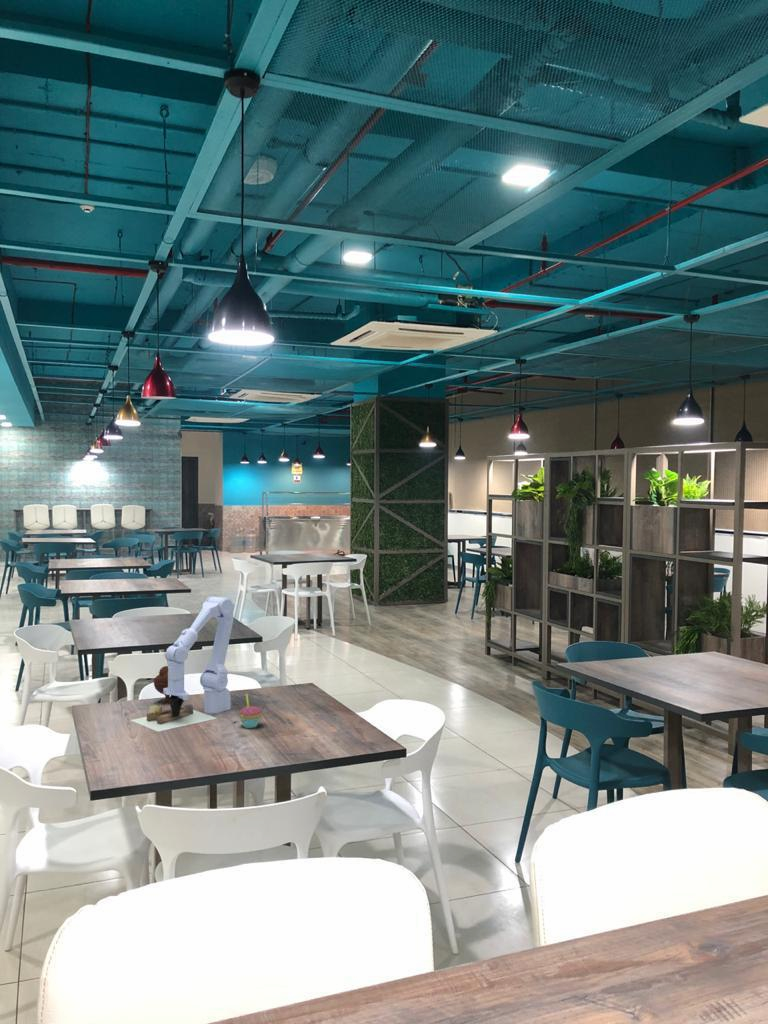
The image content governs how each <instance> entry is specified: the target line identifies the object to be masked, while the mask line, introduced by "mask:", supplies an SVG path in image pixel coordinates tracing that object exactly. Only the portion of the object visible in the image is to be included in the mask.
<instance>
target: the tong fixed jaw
mask: <svg viewBox="0 0 768 1024" xmlns="http://www.w3.org/2000/svg"><path fill="white" fill-rule="evenodd" d="M184 708H187V709H189V715H191V714H193V710H194V704H185V705H184V707H182V706H181V709H184ZM181 709H180V710H181ZM171 712H172V710H171V708H168V709H162V713H157V714H153V713H151V712H149V713H146V717H147V721H149V722H150V721H155V720H157V717H158V716H161V715H165V714H168V713H171Z"/></svg>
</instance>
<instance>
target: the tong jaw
mask: <svg viewBox="0 0 768 1024" xmlns="http://www.w3.org/2000/svg"><path fill="white" fill-rule="evenodd" d="M183 708H184V707H183ZM188 715H189V709H187V708H184V709H181V710H180V715H179V716H178V717H173V715H172V712H171V713H168V714H165V715H161V716H158V717H157V723H158V724H163V723H166V722H169V721H172V720H175V719H179V718H182V717H185V716H188Z"/></svg>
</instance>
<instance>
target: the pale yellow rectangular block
mask: <svg viewBox="0 0 768 1024" xmlns="http://www.w3.org/2000/svg"><path fill="white" fill-rule="evenodd" d="M162 711H163V707H162V706H161V705H157V704H154V705H150V706H149V707H148V712H149V713H153V714H157V713H162Z"/></svg>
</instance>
